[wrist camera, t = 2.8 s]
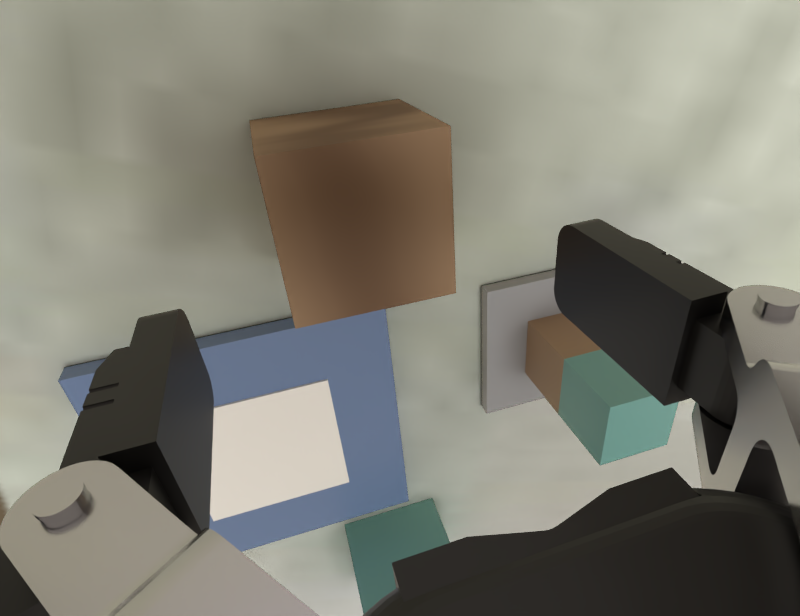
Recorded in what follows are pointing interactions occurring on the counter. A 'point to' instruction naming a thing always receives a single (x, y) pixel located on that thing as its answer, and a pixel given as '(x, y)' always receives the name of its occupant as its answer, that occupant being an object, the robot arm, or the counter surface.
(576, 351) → the stacked block model
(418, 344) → the counter surface
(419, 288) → the walnut cube
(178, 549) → the robot arm
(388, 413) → the board
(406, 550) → the teal cube
